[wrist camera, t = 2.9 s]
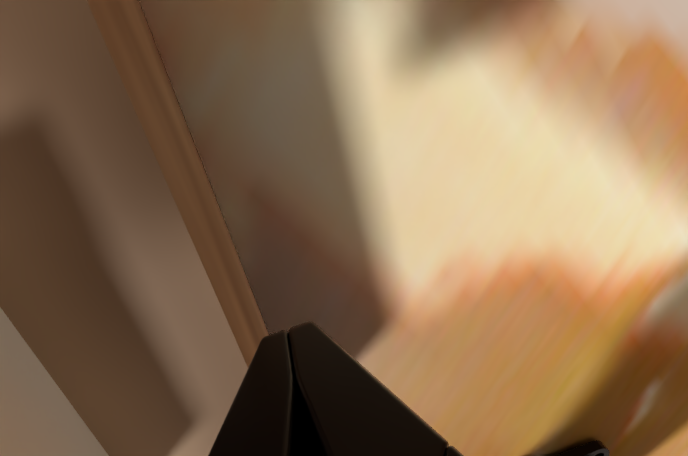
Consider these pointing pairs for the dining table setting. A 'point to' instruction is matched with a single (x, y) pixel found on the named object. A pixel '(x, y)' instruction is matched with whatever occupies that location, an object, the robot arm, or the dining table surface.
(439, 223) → the dining table surface
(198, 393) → the brown wooden block
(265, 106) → the dining table surface
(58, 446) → the thick cream rectangular block
